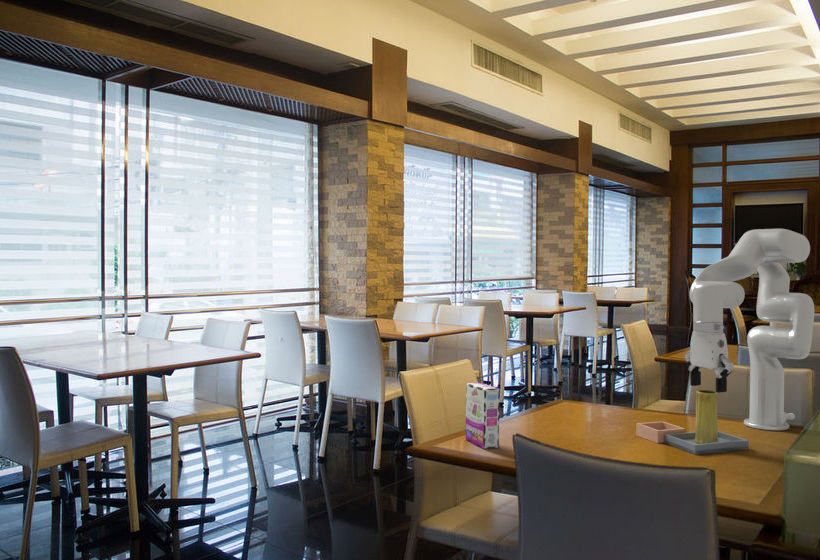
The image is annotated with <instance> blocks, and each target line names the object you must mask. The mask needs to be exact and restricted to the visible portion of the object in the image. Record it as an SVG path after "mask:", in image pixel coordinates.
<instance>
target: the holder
mask: <svg viewBox="0 0 820 560" xmlns="http://www.w3.org/2000/svg"><path fill="white" fill-rule="evenodd" d="M635 424H636V425H635V426H636V427H635V428H636V429H635V431H636V432H635V435H636V436H637V437H640V438H643V439H645V440H648V441H651V442H653V443H656V444H665V443H664V440H665V434H675V433H687V432H686V430H687V429H686V428H684V427H682V426H678V425H675V424H672V423H669V422H666V421H651V422H650V421H649V422H638V423H635Z"/></svg>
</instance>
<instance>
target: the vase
mask: <svg viewBox="0 0 820 560" xmlns="http://www.w3.org/2000/svg"><path fill="white" fill-rule="evenodd" d="M695 394H696V395H695V396H696V397H695V398H696V399H695V400H696V401H695V403H696V404H695V429H694V432H695V440H694V441H695V442H696V443H699V444H704V443H715V442H718V431H719V430H718V429H719V428H718V392H716V390H712V389H711V390H710V389H697V390H696V393H695Z"/></svg>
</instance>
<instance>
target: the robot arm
mask: <svg viewBox="0 0 820 560" xmlns="http://www.w3.org/2000/svg"><path fill="white" fill-rule="evenodd" d="M810 252H811V245H810V242H809V239H808V238H807V237H806V236H805V235H804V234H801V233H799V232H796V231H792V230H790V229H785V228H764V229H761V228H758V229H756V228H755V229H751V230H748V231H746V232H744V233H743V235H742V236H741V237H740V238H739V240H738V242H737V243H736V244H735V246H734V247H733V249H732V250H731V251H730V253H729V255H728V256H726V257H724V258H722V259H720V260H718V261H716V262H714V263H712V264H710V265H708V266H707V267H705V268H703V269H702V270H701V271H700V272H699V273H698V275H697V276H696V277H695V279H694V280H693V282H692V284H691V286H690V288H689V299H690V301H691V303H692V305H693V306H692V307H693V308H692V309H693V313H692V317H693V320H692V322H693V323H692V325H693V326H692V329H693V330H692V334H691V337H690V338H691V340H690V350H689V351H688V353H685V354H684V359H685V361H686V362H685V363H686V366H687V367H688V371H689V373H690V375H689V377H690V378H689V381H690V383H689V384H690V386H691V387H696V386H701V384H702V373H701V371H700V369H701V368H702V369H706V370H711V371H714V373H715V374H716V377H715V391H716V392H717V394H719V393H727V392H728V382H727V381H728V378H729V377H730V375H731V374H732V369H733V368H734V365H735V364H734V362H732V361H731V360H730V359H729V349H728V341H727V337H726V333H724V329H725V326H724V309H735V308H737V307H739V306H741V304H742V303H744V300H745V295H746V294H745V290H744V287H743V285H741V284H740V283H738V282H735V281H740V280H744V279H745V278H748V277H751V276H752V275H753V274H755V272H756V271H757V272H758V278H759V280H758V292H757V300H756V315H757V318H758V319H759V320H761V321H764V322H769V323H778V324H780V323H781V324H792V327H786V326H775V325H757V326H754V327H752V328H751V329H750V330H749V331H748V333H747V337H746V339H747V340H746V342H747V347H748V353H749V354H748V355H749V365H750V366H749V367H750V368H749V374H750V375H749V418H748V417H747V418H745V419H744V420H743V424H744V425H745V426H747V427H749V428H753V429H759V430H765V431H766V430H767V431H785V430H786V431H787V430H789V429H790V424H789V423H788V422H787V421H788V420H794V419H796V417H795V414H794V413H793V412H790V413H789V412H788V413H787V412H786V411H785V409H784V408H785V407H784V406H785V370H784V367H783V365H782V364H781V362H780V360H779V359H778V358H781V359H782V358H783V359H791V360H803V359H806V358H807V357H808V356H809V355H810V352H811V348H812V341H813V340H812V339H813V330H814V323H815V304H814V300H813V299H812V297H811V296H810V295H809V294H806V293H801V292H790V283H791V278H790V275H789V273H788V272H787V270H786V269H785V267H784V266H782V264H781V263H784V264H785V263H787V264H789V263H790V264H791V263H802V262H804V261H806V260H807V259H808V257H809V256H810Z"/></svg>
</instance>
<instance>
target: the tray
mask: <svg viewBox="0 0 820 560" xmlns="http://www.w3.org/2000/svg"><path fill="white" fill-rule="evenodd" d="M694 440H695V431H689V432H686V433H675V434H665V440H664V443H663V444H665V445H668V446H671V447H673V448H676V449H679V450H682V451H683V452H686V453H690V454H691V455H696V456H697V455H704V454H715V453H717V454H718V453H725V452H736V451H737V452H738V451H745V450H746V451H747V450H749V447H750V446H749V442H750V441H749V439H746V438H743V437H740V436H739V437H738V436H737V435H733V434H730V433H726V432H722V431H720V430H718V442H715V443H704V444H699V443H696V442H695V441H694Z"/></svg>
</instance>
